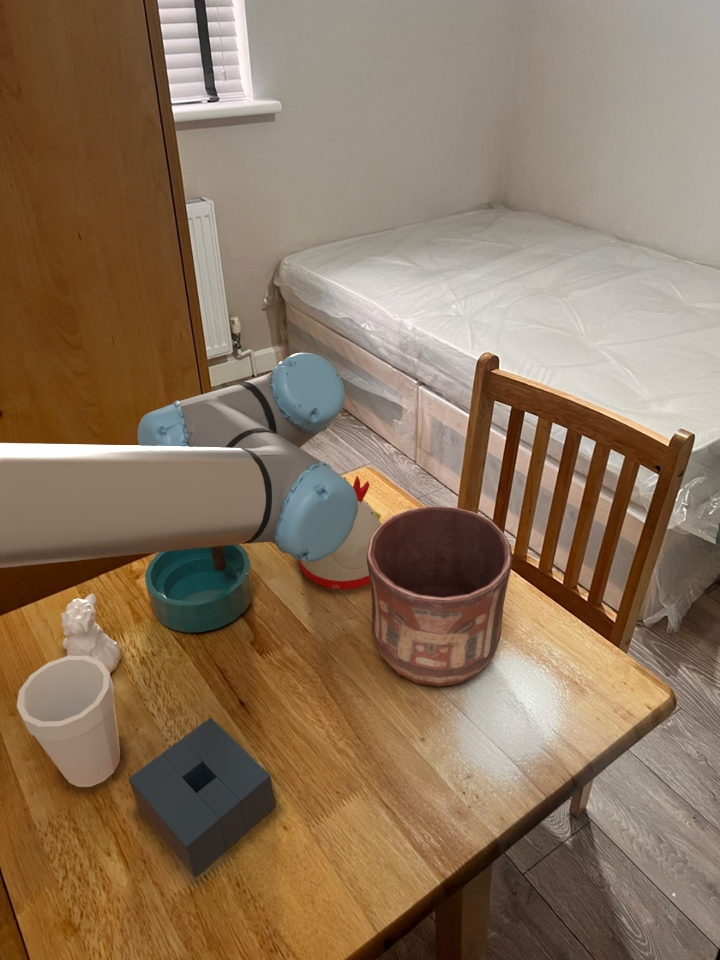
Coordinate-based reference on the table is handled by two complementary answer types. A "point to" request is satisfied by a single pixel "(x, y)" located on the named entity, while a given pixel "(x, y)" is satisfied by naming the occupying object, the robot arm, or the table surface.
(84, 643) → the white creature statuette
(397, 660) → the pottery
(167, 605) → the bowl
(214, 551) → the brown rod
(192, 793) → the holder
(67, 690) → the foam cup
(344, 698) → the table surface
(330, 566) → the kitchen timer
